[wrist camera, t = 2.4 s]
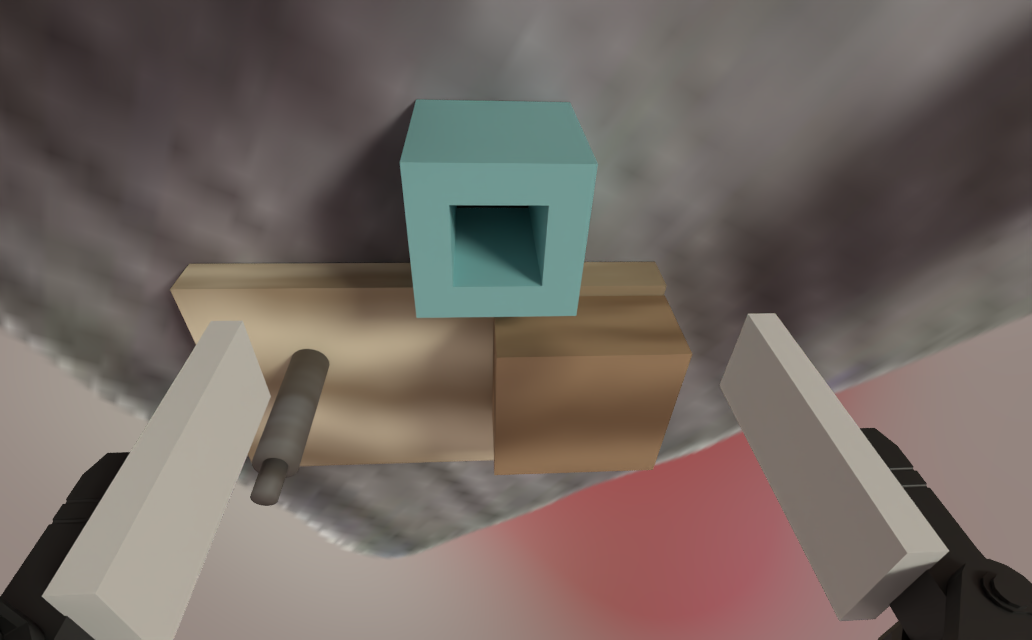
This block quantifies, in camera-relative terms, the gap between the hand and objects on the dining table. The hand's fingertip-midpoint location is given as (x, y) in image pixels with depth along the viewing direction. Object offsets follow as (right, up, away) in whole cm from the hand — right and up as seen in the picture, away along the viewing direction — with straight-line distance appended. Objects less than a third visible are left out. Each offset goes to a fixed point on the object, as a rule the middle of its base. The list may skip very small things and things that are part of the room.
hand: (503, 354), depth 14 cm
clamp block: (+3, -1, +13) cm, 13 cm away
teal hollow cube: (-1, +7, +8) cm, 11 cm away
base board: (-4, -1, +15) cm, 15 cm away
